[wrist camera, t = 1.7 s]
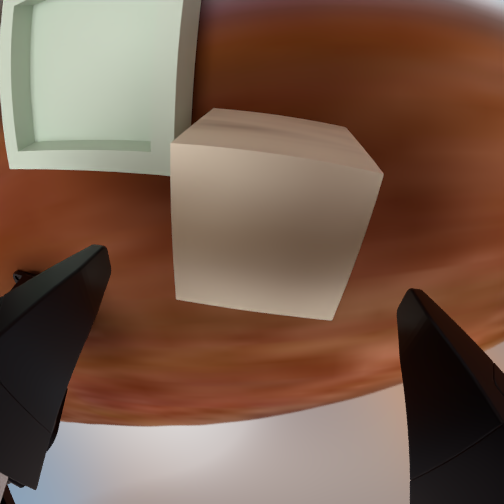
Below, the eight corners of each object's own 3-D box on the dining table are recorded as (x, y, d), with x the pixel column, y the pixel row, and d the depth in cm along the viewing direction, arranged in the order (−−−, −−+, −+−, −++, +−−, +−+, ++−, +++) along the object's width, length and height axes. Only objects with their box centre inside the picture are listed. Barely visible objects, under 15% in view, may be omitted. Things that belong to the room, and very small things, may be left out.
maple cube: (319, 235, 16) (331, 320, 11) (207, 220, 16) (176, 299, 12) (345, 126, 13) (383, 174, 8) (214, 107, 13) (170, 143, 8)
